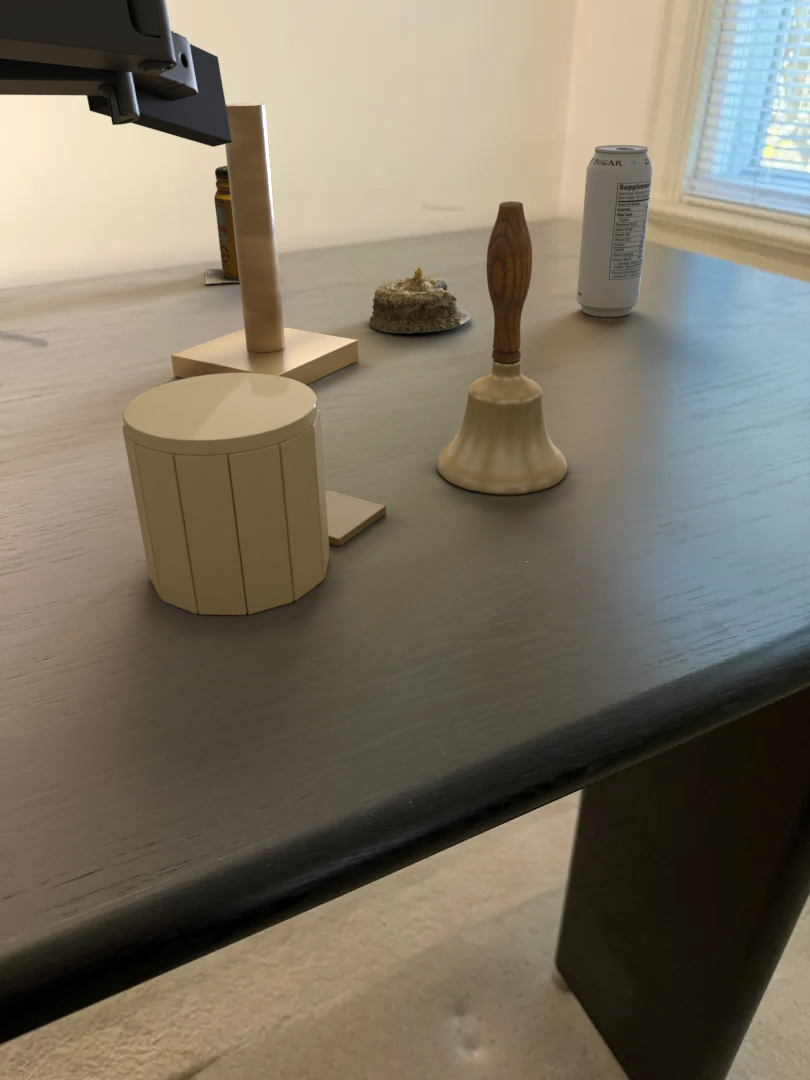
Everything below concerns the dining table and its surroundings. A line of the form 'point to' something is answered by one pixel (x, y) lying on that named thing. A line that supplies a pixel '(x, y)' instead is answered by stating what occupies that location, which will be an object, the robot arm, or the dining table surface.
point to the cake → (416, 306)
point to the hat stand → (260, 277)
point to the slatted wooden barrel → (235, 492)
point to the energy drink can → (614, 229)
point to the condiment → (224, 233)
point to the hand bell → (505, 386)
